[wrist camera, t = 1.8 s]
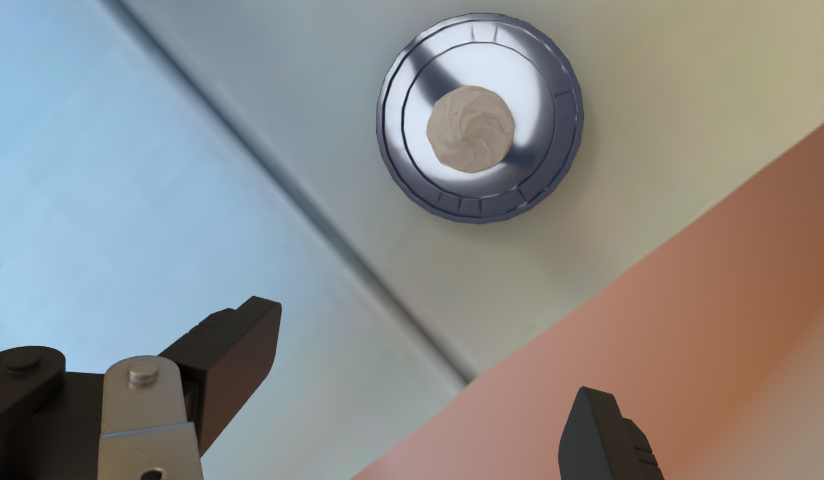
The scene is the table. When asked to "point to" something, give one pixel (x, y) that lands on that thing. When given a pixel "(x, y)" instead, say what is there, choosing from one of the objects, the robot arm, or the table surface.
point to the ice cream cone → (470, 129)
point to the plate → (514, 83)
